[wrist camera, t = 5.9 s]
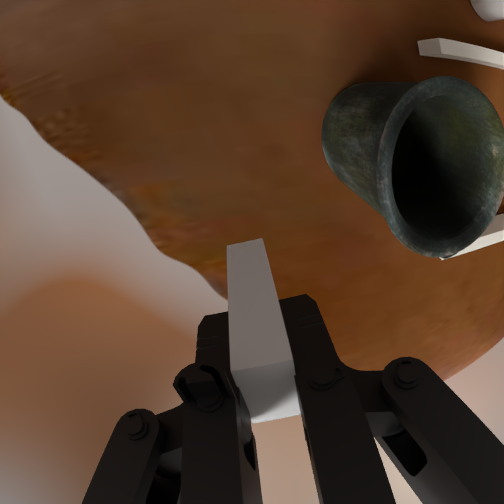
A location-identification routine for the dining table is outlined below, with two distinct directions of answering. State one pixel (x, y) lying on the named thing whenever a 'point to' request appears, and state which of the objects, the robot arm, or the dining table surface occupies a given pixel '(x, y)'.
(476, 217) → the mug
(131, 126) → the dining table surface
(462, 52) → the corral
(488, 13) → the cylinder
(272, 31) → the dining table surface
